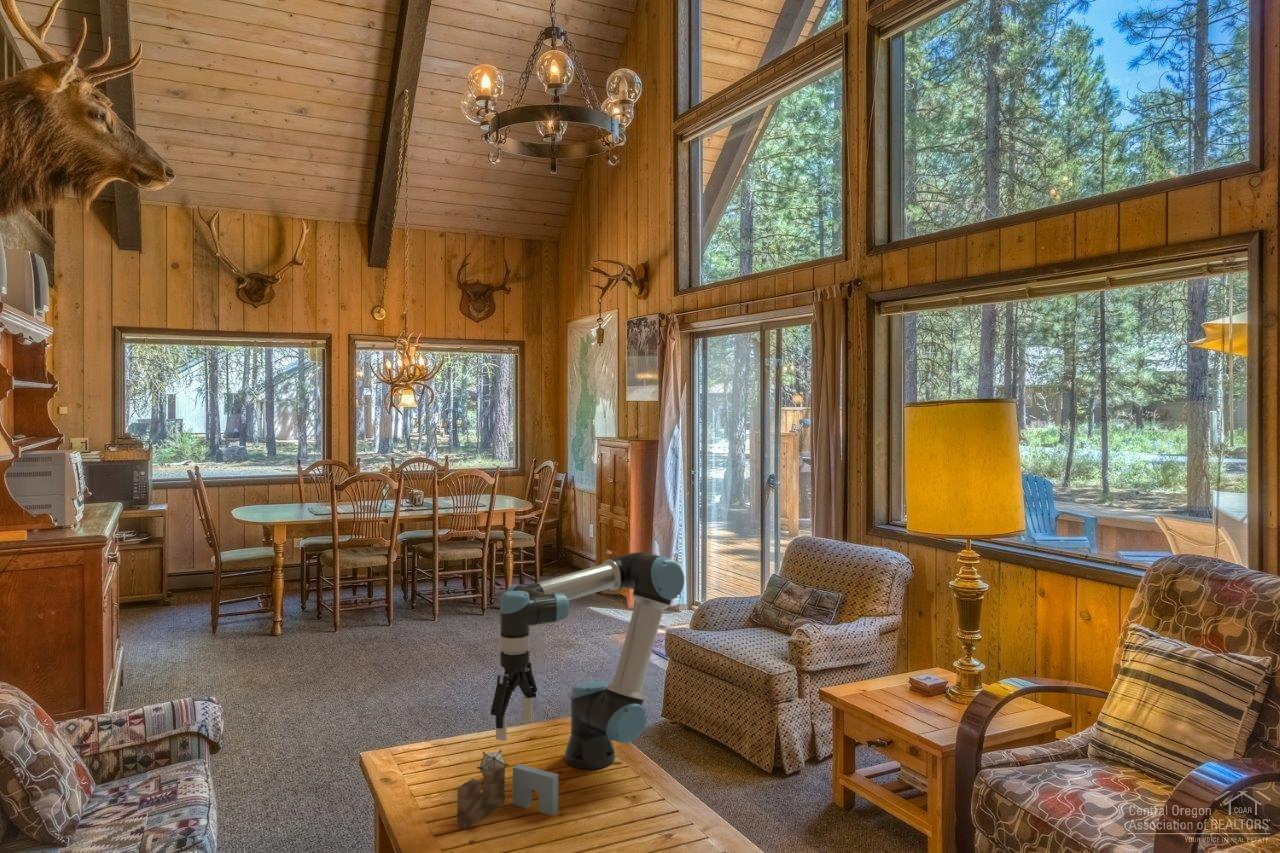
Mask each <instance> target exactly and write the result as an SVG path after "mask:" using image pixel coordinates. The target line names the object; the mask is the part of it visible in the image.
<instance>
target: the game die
mask: <svg viewBox="0 0 1280 853" xmlns="http://www.w3.org/2000/svg"><path fill="white" fill-rule="evenodd" d="M501 752H502V749H500V750H499V751H498V752H489V753H486V752H485V751H482V754H483V756H482V759H481V762H480V763H479V766H477V767H476V769H477V770H480V772H481V774H482V776H483V772H485V771H487V770H489V769H490V768H492V767H494V766H496V765H497V764H498V765H502V766H505V768H506V767H508V766H510V764H509V763H506V760H505V759H504V757H503V755H502V753H501Z"/></svg>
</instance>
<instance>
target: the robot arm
mask: <svg viewBox="0 0 1280 853" xmlns="http://www.w3.org/2000/svg"><path fill="white" fill-rule="evenodd" d="M684 586H685V574H684V570H682V566H681V565H680V564H679V563H678V562H677V561H676V560H675V559H672V558H669V557H667V556H661V555H657V554H651V553H648V552H642V551H639V552H638V551H637V552H630V553H626V554H622V555H619V556H615V557H611V558H608V559H606V560H604V561H603V562H602V564H599V565H596V566H592V567H589V568H585V569H581V570H577V571H574V572H570V573H567V574H563V575H560V576H556V577H553V578H549V579H546V580H543V581H537V582H534V583H531V584H527V585H523V584H513V585H510V586H509V587H507V589H506V590H505V592H504V593H502V594H501V597H500V608H499V612H500V613H499V614H500V621H499V622H500V624H499V625H500V636H499V639H500V652H499V653H500V654H499V655H500V656H499V657H500V659H499V660H500V662H499V663H500V664H499V665H500V666H501V668H503V669H504V673H503V674H502V675H501V674H498V675H497V678H496V679H497V680H496V688H495V692H494V696H493V700H492V701H493V702H492V704H491V709H490V715H491V716H495V739H496V740H498V741H504V742H505V741H507V740H508V739H507V738H508V736H507V735H508V733H507V732H508V731H507V730H508V728H507V726H508V725H507V724H508V723H507V722H508V720H507V719H508V718H507V714H505V713H506V712H507V709H508V705H509V702H510V699H511V696H512V694H513V692H515V690H516V688H517V687H519V689H520V691H521V693H522V694H523V697H522V698H521V704H522V705H521V706H522V707H521V711H522V713H521V714H522V715H521V716H522V717H521V718H522V719H521V721H522V722H525V723H530V724H531V723H533V698H537V692H538V687H537V684H536V680H535V677H534V674H533V670H532V663H531V662H530V652H529V650H530V627H532V626H538V625H543V624H551V623H556V622H560V621H564V620H565V619H567V617H568V616H569V613H570V603H569V602H570V601H571V600H575V599H578V598H581V597H582V598H583V597H585V596H588V595H593V594H596V593H598V592H601V591H605V590H608V589H609V590H611V591H616V590H617V591H618V590H621V589H631V590H633V591H632V597H633V599H634V601H635V602H634V607H633V610H632V614H631V618H630V621H629V625H628V628H627V632H626V635H625V639H624V642H623V646H622V649H621V652H620V655H619V656H620V657H619V660H618V663H617V667H616V671H615V675H614V677H613V680H612V682H611V683H610V682H608V681H604V680H588V681H582V682H579V683H576V684H575V685H573V687H572V689H571V695H570V703H571V705H570V730H571V731H570V736H569V740H568V742H567V746H566V749H565V751H564V760H565V762H566V764H567V765H568V766H571V767H573V768H577V769H581V770H596V769H597V770H599V769H601V768H605V767H608V766H610V765H612V764H613V763H614V762H615V760H616V751H615V747H614V744H613V741H614V742H616V743H620V744H629V743H631V742H634V741H635V740H636V739H637V738H639V736H641V734H643V732H644V730H645V728H646V725H647V719H648V716H647V712H646V709H645V708H644V706H643V704H644V700H645V696H644V694H643V692H642V688H643V685H644V681H645V678H646V674H647V672H648V671H647V670H648V666H649V663H650V659H651V656H652V653H653V649H654V645H655V642H656V639H657V638H656V637H657V634H658V631H659V628H660V623H661V620H662V616H663V613H664V610H666V609H668V608H669V607H670V606H671V602H672V600H674V599H676V598H677V597H678V595H680V594H681V593H682V591H683V590H684Z"/></svg>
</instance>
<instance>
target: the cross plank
mask: <svg viewBox="0 0 1280 853" xmlns="http://www.w3.org/2000/svg"><path fill="white" fill-rule="evenodd" d="M532 791H534V792H537V793H538V813H542V814H545V815H548V816H551V817H554V816H555V815H556V814H558V812H559V774H558V773H555V772H550V771H546V770H543V769H539V768H536V767H531V766H528V765H525V764H521V763H517V764H516V765H514V766H512V805H513V806H518V807H520V808H525V809H527V808H528V807H530V806H531V805H532V799H533V798H532V797H533V796H532V794H533V792H532Z"/></svg>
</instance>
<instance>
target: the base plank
mask: <svg viewBox="0 0 1280 853" xmlns="http://www.w3.org/2000/svg"><path fill="white" fill-rule="evenodd" d="M505 772H506V767H505V766H502V765H498V764H497V765H496V766H494V767H492V768H490V769H489V770H487V771H485V772H483V775H482V778H483V780H482V781H483V782H482V783H483V784H482V785H483V789H482V792H481V780H480V779H476V778H471V779H470V780H468V781H466V782H464V783H462V784H461V785H459V786H458V787H457V804H456V805H457V806H456V807H457V810H456V812H457V816H456V817H457V819H456V821H457V822H456V823H457V825H456V827H457V828H461V829H463V830H464V829H467V828H469V827H470V826H472V825H473V824H475V823H476V822H478V821H479V820H481V819H483V818H484V817H486V816H488V815H489V814H491V813H492V812H493V811H495V810H497V809H498V808H499V807H501V806H504V804H505V802H506V801H505V800H506V799H505V798H506V797H505V794H506V793H505V792H506V786H505V785H506V784H505V783H506V778H505V777H506V773H505Z"/></svg>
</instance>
